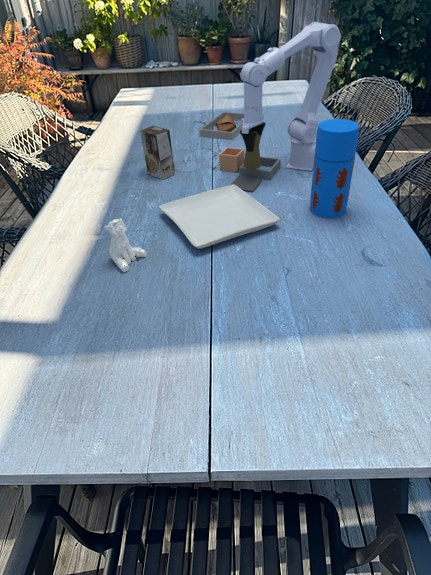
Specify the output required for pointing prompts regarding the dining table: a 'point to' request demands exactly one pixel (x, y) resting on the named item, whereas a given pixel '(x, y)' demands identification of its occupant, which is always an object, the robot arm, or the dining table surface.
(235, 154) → the terracotta pot
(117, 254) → the sitting furry creature
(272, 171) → the grey rectangular frame
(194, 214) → the square plate
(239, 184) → the dark grey rubber mat
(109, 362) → the dining table surface
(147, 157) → the coffee box
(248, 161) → the cork
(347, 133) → the thermos
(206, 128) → the dark grey tray
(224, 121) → the sunglasses case
